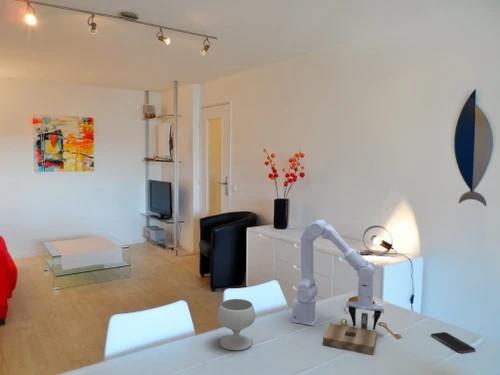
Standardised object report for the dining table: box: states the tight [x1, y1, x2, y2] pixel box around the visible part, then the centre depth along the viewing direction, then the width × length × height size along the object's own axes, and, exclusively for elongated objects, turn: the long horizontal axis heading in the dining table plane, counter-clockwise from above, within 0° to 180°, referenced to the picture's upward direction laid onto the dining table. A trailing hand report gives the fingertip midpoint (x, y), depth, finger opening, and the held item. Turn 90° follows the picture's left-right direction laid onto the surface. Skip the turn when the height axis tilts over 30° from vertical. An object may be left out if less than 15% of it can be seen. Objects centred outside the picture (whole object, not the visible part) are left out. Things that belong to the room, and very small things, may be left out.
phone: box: [430, 331, 476, 355], centre depth 149 cm, size 8×1×15 cm
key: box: [377, 321, 402, 340], centre depth 160 cm, size 6×1×15 cm
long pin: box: [360, 312, 369, 330], centre depth 157 cm, size 2×2×8 cm
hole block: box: [322, 322, 378, 356], centre depth 149 cm, size 18×14×3 cm
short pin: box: [340, 318, 348, 326], centre depth 160 cm, size 2×2×4 cm
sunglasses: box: [344, 294, 378, 319], centre depth 180 cm, size 14×15×5 cm
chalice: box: [217, 298, 256, 351], centre depth 146 cm, size 14×14×15 cm
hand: (364, 327), depth 157 cm, fingers open, 7 cm apart
